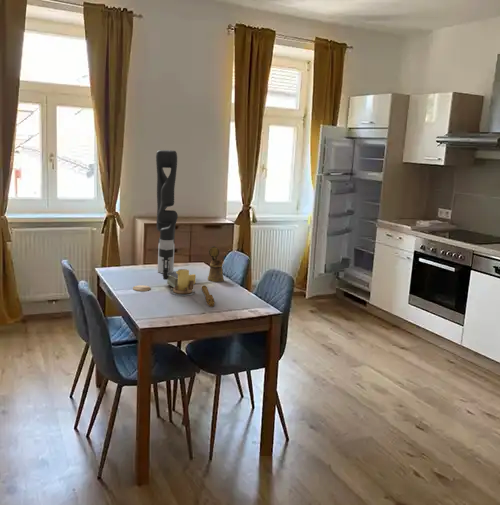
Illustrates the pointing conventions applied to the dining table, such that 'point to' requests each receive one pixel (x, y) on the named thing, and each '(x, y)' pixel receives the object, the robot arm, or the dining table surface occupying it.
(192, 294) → the stand base
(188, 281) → the cylinder with side tabs
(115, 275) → the dining table surface
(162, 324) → the dining table surface
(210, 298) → the tap handle
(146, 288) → the coaster
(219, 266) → the wooden mug
